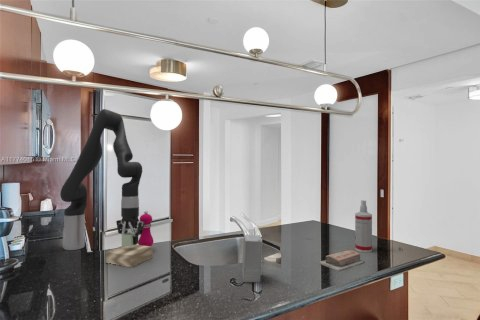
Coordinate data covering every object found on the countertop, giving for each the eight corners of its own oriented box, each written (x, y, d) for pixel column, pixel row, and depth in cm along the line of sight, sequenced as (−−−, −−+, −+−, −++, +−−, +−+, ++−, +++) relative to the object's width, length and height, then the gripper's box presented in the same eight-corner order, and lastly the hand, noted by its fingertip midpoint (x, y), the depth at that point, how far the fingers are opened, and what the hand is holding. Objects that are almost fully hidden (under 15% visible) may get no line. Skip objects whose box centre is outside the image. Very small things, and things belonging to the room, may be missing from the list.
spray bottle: (352, 249, 152) (352, 200, 152) (360, 246, 156) (360, 199, 156) (366, 253, 146) (366, 201, 146) (374, 250, 150) (374, 200, 150)
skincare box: (241, 274, 118) (241, 234, 118) (259, 274, 119) (259, 234, 119) (243, 283, 110) (243, 240, 110) (262, 282, 110) (262, 239, 110)
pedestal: (105, 263, 131) (105, 252, 131) (127, 254, 144) (128, 243, 144) (132, 267, 126) (132, 255, 126) (152, 257, 139) (152, 246, 139)
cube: (121, 245, 133) (121, 234, 133) (129, 242, 138) (129, 231, 138) (130, 246, 132) (130, 235, 132) (138, 243, 136) (138, 232, 136)
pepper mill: (144, 254, 144) (144, 212, 144) (135, 251, 148) (135, 211, 148) (156, 250, 149) (156, 210, 149) (147, 248, 154) (147, 209, 154)
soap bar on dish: (345, 247, 140) (364, 252, 132) (345, 257, 140) (364, 263, 132) (319, 254, 130) (338, 260, 122) (319, 265, 130) (338, 272, 122)
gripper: (111, 206, 134) (111, 244, 134) (137, 208, 129) (137, 247, 129) (123, 204, 141) (123, 240, 141) (148, 205, 136) (148, 243, 136)
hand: (130, 243), depth 135 cm, fingers closed on cube, 5 cm apart
